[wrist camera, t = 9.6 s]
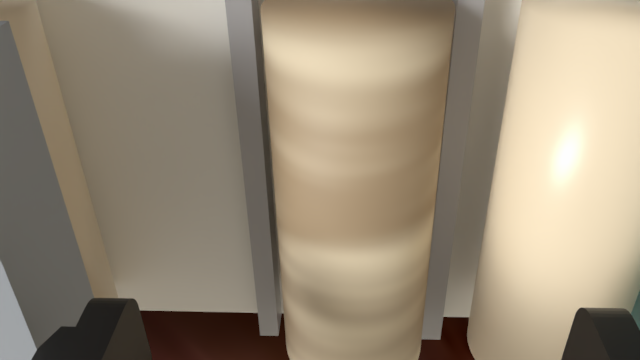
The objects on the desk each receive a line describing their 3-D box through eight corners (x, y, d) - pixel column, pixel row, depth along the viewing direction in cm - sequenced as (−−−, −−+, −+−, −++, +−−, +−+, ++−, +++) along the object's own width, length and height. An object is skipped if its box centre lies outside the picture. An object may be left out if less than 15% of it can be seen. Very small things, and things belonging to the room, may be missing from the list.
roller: (268, -19, 14) (250, 39, 11) (438, -23, 14) (473, 35, 11) (289, 292, 19) (282, 395, 16) (412, 291, 19) (429, 395, 16)
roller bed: (-351, -65, 15) (-700, 5, 10) (784, -78, 14) (1031, -4, 9) (-143, 284, 22) (-293, 431, 17) (641, 299, 20) (736, 465, 15)
